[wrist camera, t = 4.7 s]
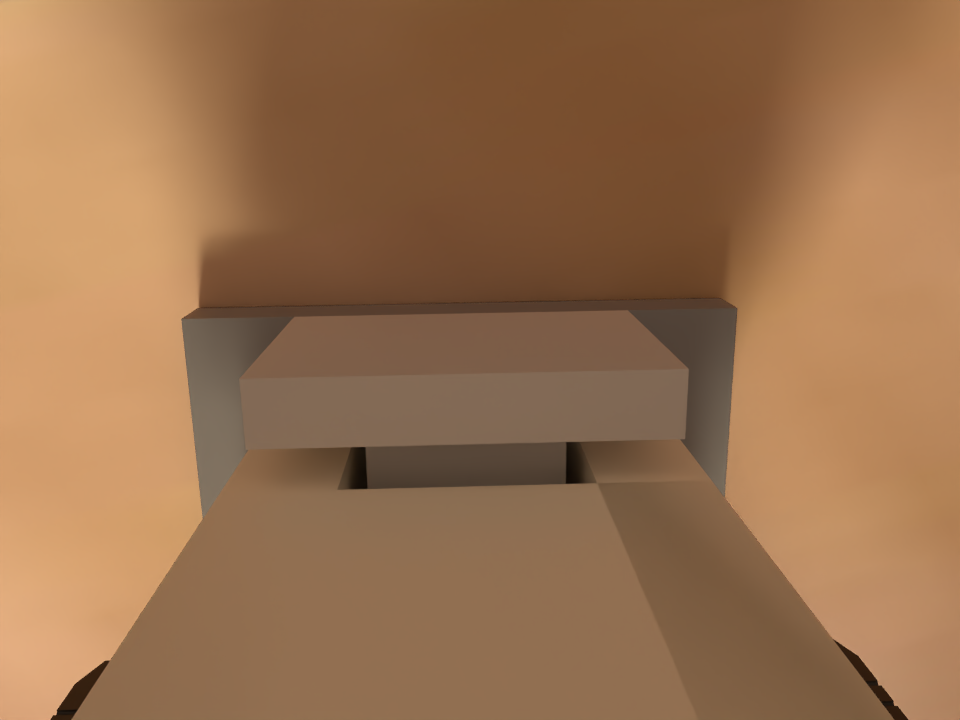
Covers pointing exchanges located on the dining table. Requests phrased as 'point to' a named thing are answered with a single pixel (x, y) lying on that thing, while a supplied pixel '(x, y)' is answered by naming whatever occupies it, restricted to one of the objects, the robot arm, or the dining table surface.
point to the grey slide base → (459, 385)
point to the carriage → (477, 603)
